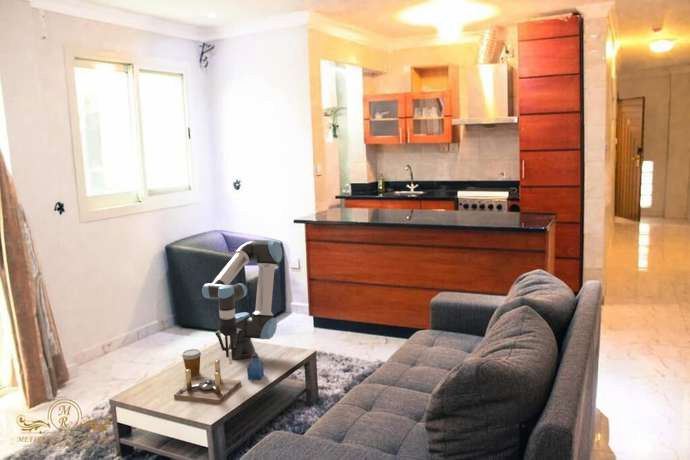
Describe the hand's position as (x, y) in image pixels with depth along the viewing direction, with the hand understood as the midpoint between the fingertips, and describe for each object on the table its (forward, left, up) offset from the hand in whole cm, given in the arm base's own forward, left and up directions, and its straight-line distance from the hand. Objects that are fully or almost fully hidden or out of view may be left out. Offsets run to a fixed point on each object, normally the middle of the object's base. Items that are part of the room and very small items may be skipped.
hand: (230, 363), depth 284 cm
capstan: (+10, -6, -8) cm, 14 cm away
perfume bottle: (-8, +9, -10) cm, 16 cm away
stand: (+12, -6, -10) cm, 17 cm away
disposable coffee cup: (-4, -25, -10) cm, 27 cm away
